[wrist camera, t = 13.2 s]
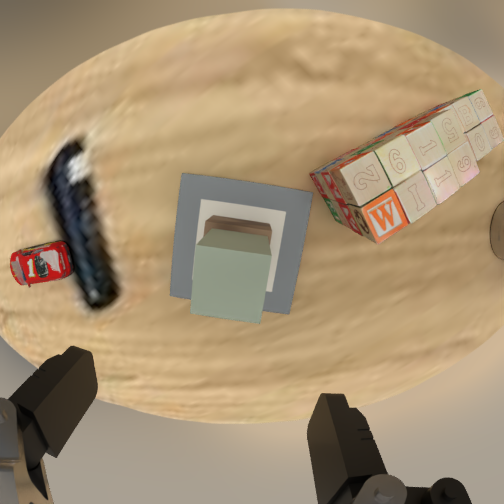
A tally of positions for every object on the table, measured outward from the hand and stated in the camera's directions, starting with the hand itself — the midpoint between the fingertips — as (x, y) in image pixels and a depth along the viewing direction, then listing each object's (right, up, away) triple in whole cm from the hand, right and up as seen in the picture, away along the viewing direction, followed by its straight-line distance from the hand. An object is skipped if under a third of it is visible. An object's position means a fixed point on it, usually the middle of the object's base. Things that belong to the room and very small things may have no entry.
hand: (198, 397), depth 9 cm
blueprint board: (0, +6, +23) cm, 24 cm away
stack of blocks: (+19, +16, +21) cm, 32 cm away
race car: (-28, +3, +25) cm, 38 cm away
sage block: (0, +4, +18) cm, 18 cm away
